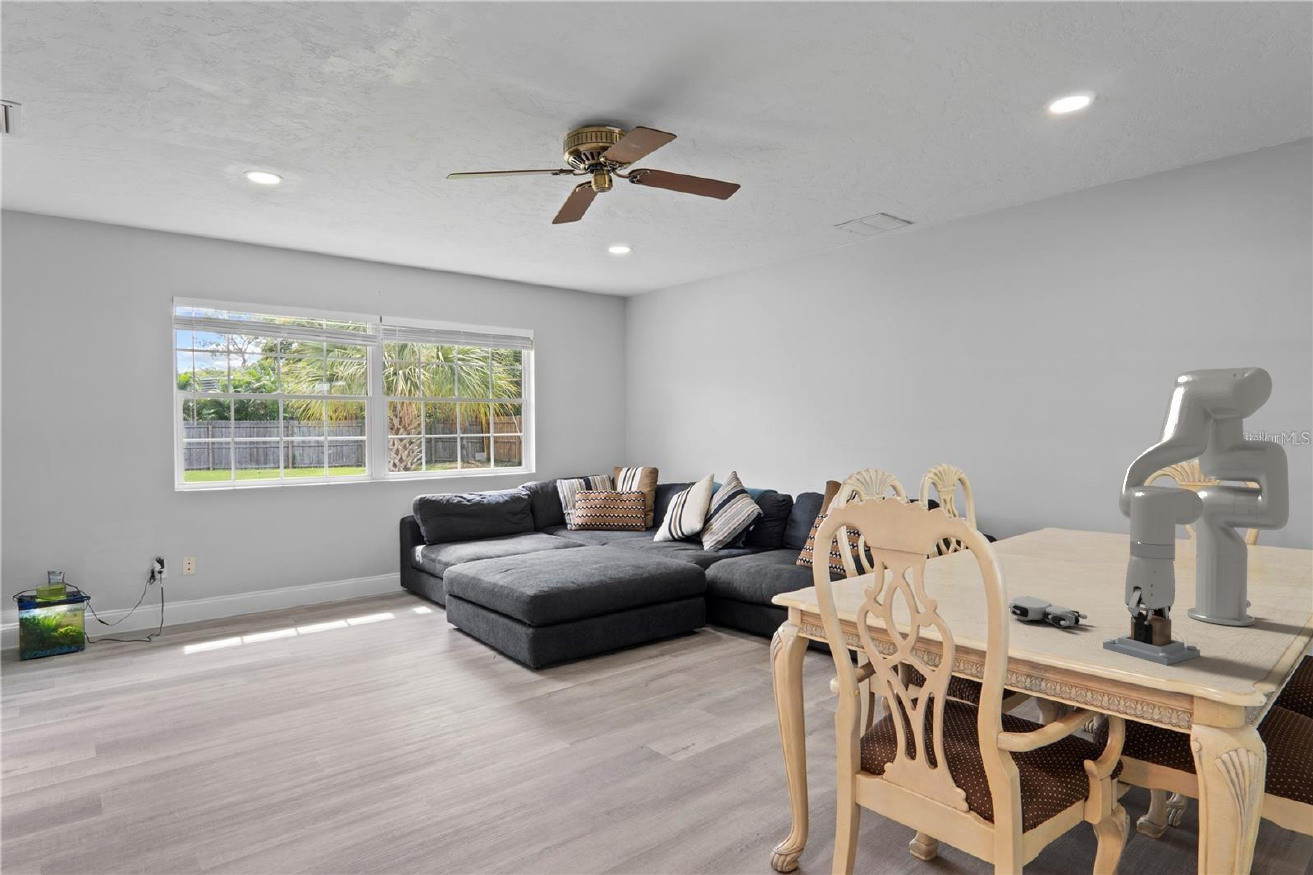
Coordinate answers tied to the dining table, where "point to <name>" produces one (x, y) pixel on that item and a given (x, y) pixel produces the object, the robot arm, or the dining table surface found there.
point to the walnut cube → (1157, 631)
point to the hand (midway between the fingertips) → (1150, 640)
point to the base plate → (1152, 650)
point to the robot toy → (1044, 611)
